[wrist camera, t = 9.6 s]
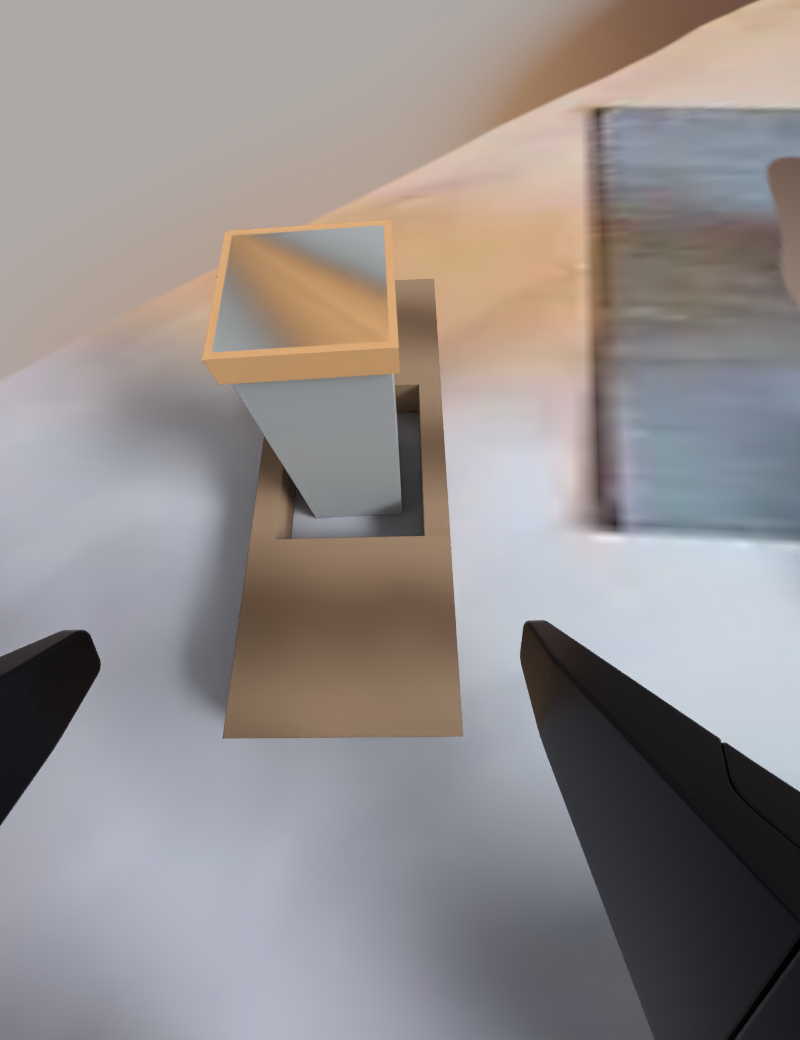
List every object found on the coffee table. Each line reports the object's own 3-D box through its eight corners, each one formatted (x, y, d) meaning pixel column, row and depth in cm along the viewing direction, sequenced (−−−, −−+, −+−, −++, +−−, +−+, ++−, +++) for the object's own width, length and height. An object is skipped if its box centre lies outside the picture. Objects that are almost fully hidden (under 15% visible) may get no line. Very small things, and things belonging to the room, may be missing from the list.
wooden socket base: (456, 728, 15) (462, 736, 13) (246, 730, 15) (222, 738, 13) (432, 311, 23) (433, 278, 21) (295, 316, 23) (285, 284, 21)
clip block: (406, 516, 18) (398, 347, 9) (311, 522, 18) (201, 359, 9) (402, 436, 20) (390, 220, 10) (314, 441, 20) (225, 231, 10)
